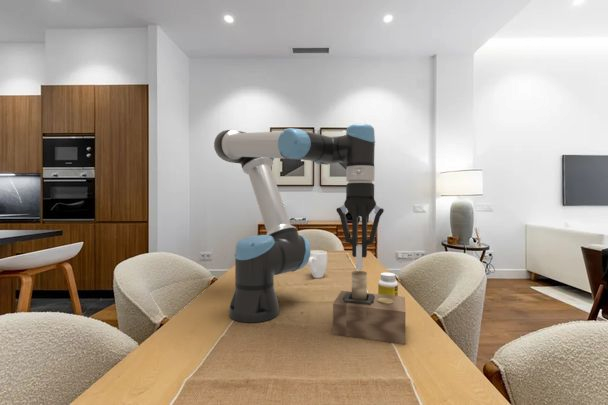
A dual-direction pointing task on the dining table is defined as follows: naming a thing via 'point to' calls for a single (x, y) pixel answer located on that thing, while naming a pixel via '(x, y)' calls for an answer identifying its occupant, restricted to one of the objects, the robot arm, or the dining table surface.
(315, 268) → the mug
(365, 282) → the oak peg
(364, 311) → the socket block
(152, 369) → the dining table surface
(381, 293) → the pill bottle
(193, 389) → the dining table surface
